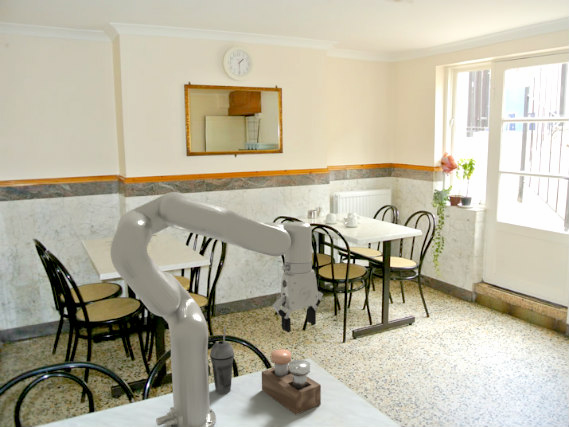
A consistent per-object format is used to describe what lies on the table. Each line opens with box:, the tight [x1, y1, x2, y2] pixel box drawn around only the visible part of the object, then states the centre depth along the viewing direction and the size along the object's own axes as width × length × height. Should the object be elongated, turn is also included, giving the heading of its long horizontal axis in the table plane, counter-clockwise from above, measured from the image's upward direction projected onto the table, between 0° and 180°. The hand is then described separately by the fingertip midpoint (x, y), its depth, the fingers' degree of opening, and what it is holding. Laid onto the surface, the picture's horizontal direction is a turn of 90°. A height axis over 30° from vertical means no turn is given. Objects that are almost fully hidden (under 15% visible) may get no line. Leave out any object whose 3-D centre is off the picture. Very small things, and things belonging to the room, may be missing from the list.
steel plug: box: [288, 359, 311, 390], centre depth 141 cm, size 6×6×8 cm
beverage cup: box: [209, 326, 235, 395], centre depth 149 cm, size 7×7×20 cm
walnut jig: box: [261, 364, 322, 416], centre depth 146 cm, size 9×17×6 cm, turn 36°
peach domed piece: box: [270, 348, 292, 378], centre depth 149 cm, size 6×6×8 cm
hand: (299, 326), depth 139 cm, fingers open, 8 cm apart
